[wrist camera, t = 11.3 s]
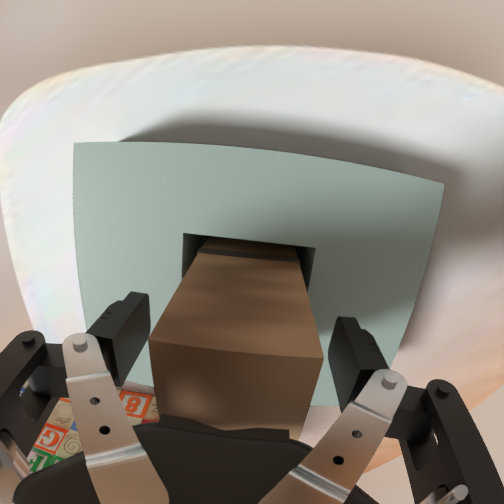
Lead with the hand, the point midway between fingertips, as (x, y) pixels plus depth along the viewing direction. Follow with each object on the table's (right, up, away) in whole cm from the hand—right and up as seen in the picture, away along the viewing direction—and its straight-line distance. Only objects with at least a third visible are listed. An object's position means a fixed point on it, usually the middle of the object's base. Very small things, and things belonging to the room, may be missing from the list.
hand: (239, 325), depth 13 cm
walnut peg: (0, +2, +7) cm, 7 cm away
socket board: (0, +2, +7) cm, 7 cm away
